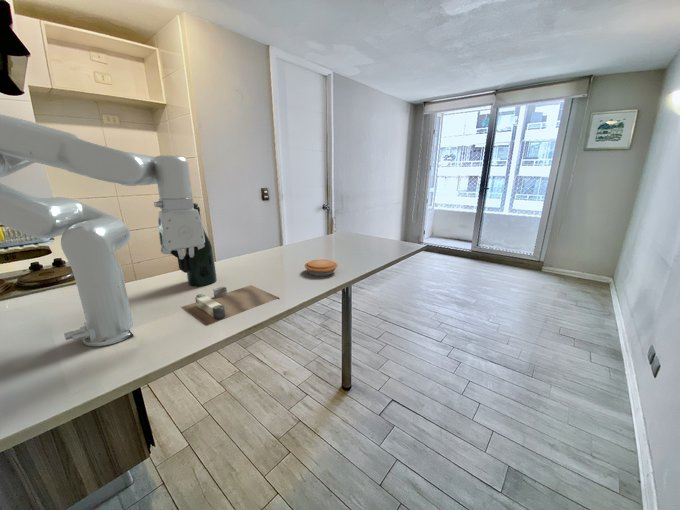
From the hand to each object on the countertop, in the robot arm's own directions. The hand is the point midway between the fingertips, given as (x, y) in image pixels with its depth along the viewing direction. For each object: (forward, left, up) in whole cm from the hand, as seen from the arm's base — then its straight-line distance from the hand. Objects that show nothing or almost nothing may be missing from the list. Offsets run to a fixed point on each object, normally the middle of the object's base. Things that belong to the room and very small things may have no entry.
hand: (187, 270), depth 78 cm
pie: (+60, +6, -18) cm, 63 cm away
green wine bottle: (+16, +30, -17) cm, 38 cm away
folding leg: (+6, +2, -15) cm, 17 cm away
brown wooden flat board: (+14, +4, -17) cm, 22 cm away
